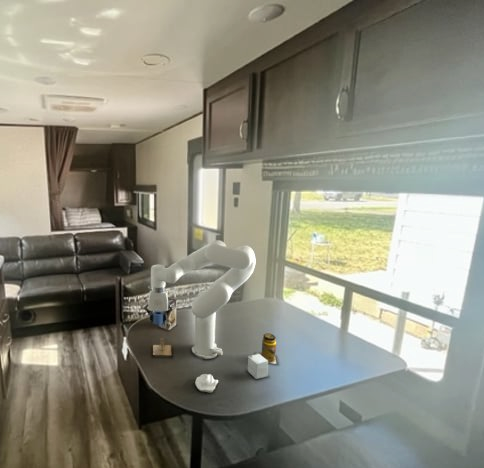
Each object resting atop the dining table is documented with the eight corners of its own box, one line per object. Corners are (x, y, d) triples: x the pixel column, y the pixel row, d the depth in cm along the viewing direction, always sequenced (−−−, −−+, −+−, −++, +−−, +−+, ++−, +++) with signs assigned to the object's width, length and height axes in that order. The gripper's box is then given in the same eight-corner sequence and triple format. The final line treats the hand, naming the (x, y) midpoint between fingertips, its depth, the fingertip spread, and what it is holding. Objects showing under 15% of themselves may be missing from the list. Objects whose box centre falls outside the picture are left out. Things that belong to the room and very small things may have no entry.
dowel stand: (170, 347, 153) (170, 334, 152) (171, 357, 144) (171, 343, 143) (153, 346, 154) (153, 334, 152) (152, 357, 145) (152, 343, 144)
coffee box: (168, 331, 170) (168, 304, 167) (158, 328, 173) (158, 301, 171) (176, 325, 177) (176, 299, 174) (167, 322, 181) (167, 296, 178)
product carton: (267, 376, 129) (268, 361, 128) (255, 379, 127) (256, 363, 126) (258, 368, 135) (259, 353, 134) (247, 370, 133) (247, 355, 132)
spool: (165, 321, 157) (165, 312, 156) (159, 325, 152) (160, 316, 151) (156, 318, 160) (156, 309, 159) (150, 322, 155) (150, 313, 154)
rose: (223, 381, 120) (201, 385, 117) (223, 391, 120) (201, 395, 118) (212, 367, 129) (191, 370, 127) (212, 376, 130) (191, 379, 128)
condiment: (276, 364, 138) (278, 340, 135) (257, 361, 140) (258, 337, 138) (274, 355, 144) (276, 332, 142) (256, 353, 147) (257, 330, 145)
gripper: (141, 291, 150) (141, 324, 153) (175, 291, 149) (175, 325, 152) (141, 286, 157) (142, 318, 160) (174, 286, 156) (174, 318, 159)
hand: (158, 321), depth 156 cm, fingers closed on spool, 5 cm apart
